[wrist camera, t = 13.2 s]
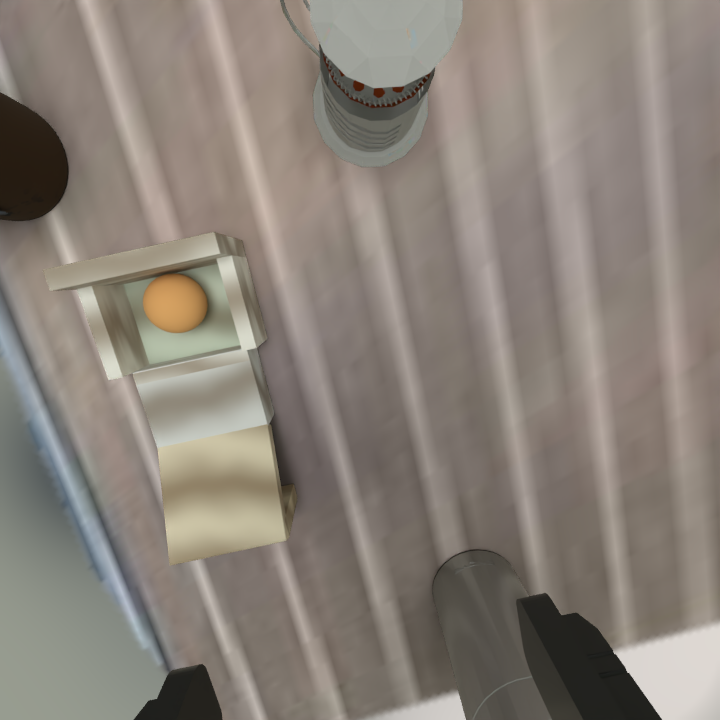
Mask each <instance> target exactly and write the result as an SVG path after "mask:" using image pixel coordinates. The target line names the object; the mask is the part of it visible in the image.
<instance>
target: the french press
mask: <svg viewBox="0 0 720 720" xmlns="http://www.w3.org/2000/svg"><path fill="white" fill-rule="evenodd" d="M303 1H304V3H305V5H306V7H307V9H308V10H309V11H310V17H311V24H312V26H313V29H314V31H315V33H316V36H317V38H318V40H319V43H320V44H319V51H318V50H317V49H316V48H315V47H314V46H313V45H312V44H311V43H310V42H309V41H308V40H307V39H306V38H305V37H304V36H303V34H302V33H301V32H300V31H299V30H298V29H297V27H296V26H295V24H294V23H293V21H292V20H291V18H290V16H289V14H288V11H287V9H286V6H285V3H284V0H280V2H281V6H282V10H283V13H284V14H285V16H286V18H287V20H288V21H289V23H290V25H291V27H292V28H293V30H294V32H295V33H296V34H297V35H298V36H299V38H300V39H301V40H302V41H303V42H304V43H305V44H306V45H307V46H308V47H309V48H310V49H311V50H312V51H313V52H314V53H315V54H316V55H317V56H318V57H319V58H320V73H319V76H318V79H317V83H316V86H315V89H314V92H313V107H314V120H315V123H316V125H317V127H318V129H319V132H320V134H321V136H322V138H323V140H324V143H325V144H327V145H328V146H329V147H330V148H331V149H332V150H333V151H334V152H335V153H336V154H337V155H338V156H339V157H340V158H341V159H343V160H345V161H348V162H350V163H353V164H355V165H358V166H360V167H377V166H386V165H388V164H390V163H392V162H394V161H396V160H398V159H400V158H402V157H404V156H405V155H406V154H407V153H408V151H409V150H410V149H411V148H412V147H413V146H414V144H415V143H416V142H417V141H418V140H419V139H420V136H421V133H422V130H423V128H424V125H425V122H426V119H427V117H428V89H429V86H430V84H431V81H432V79H433V76H434V71H435V66H436V65H437V64H438V63H439V62H440V61H441V60H442V58H443V57H444V56H445V55H446V54H447V53H448V52H449V50H450V49H451V46H452V44H453V41H454V39H455V36H456V34H457V31H458V29H459V26H460V23H461V21H462V6H463V0H310V5H309V4H308V2H307V0H303ZM425 83H426V84H425Z"/></svg>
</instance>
